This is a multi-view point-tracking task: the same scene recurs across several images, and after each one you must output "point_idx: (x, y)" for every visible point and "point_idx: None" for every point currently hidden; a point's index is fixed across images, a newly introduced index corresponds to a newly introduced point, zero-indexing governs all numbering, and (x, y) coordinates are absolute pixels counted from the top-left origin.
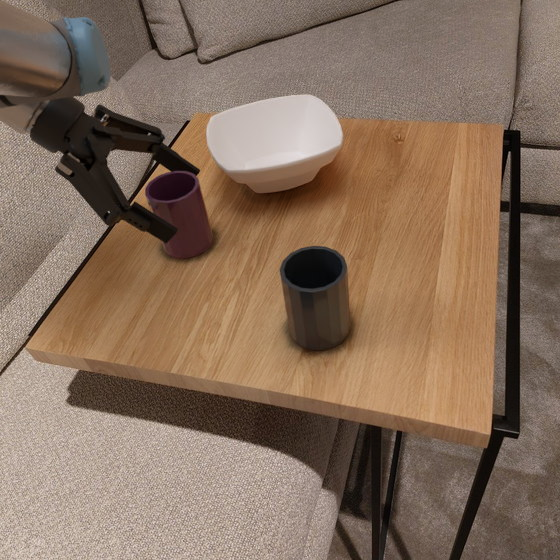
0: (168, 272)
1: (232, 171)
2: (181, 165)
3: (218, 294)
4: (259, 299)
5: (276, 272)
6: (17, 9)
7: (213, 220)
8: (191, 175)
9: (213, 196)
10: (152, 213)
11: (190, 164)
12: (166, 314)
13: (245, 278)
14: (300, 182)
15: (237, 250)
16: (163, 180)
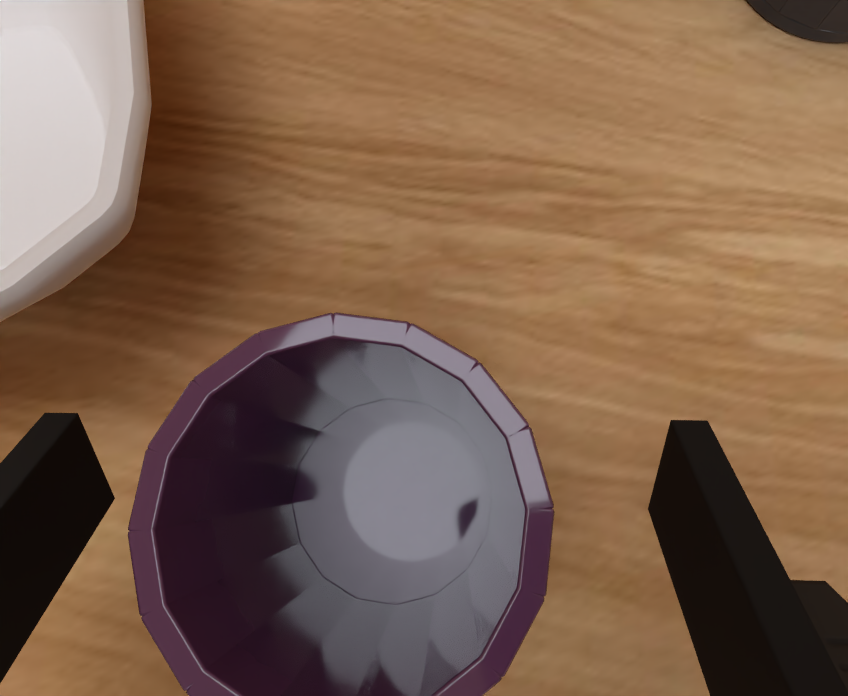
0: (591, 545)
1: (126, 182)
2: (18, 530)
3: (707, 305)
4: (720, 155)
5: (578, 116)
6: None
7: None
8: (210, 393)
9: None
10: (752, 579)
11: (12, 465)
12: (836, 492)
13: (614, 219)
14: (80, 51)
15: (454, 275)
16: (204, 632)
